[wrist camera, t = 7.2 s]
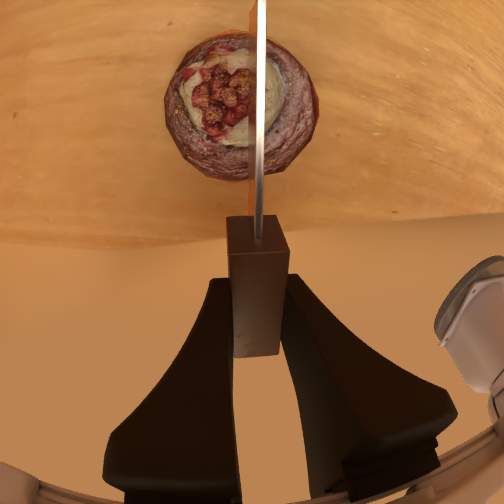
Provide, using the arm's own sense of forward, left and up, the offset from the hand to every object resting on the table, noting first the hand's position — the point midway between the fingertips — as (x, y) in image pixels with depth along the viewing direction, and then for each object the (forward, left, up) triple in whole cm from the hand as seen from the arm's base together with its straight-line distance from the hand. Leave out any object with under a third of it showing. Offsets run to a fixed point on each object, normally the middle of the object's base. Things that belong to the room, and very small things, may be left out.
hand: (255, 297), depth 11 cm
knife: (+4, 0, -1) cm, 4 cm away
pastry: (+6, 0, -8) cm, 10 cm away
